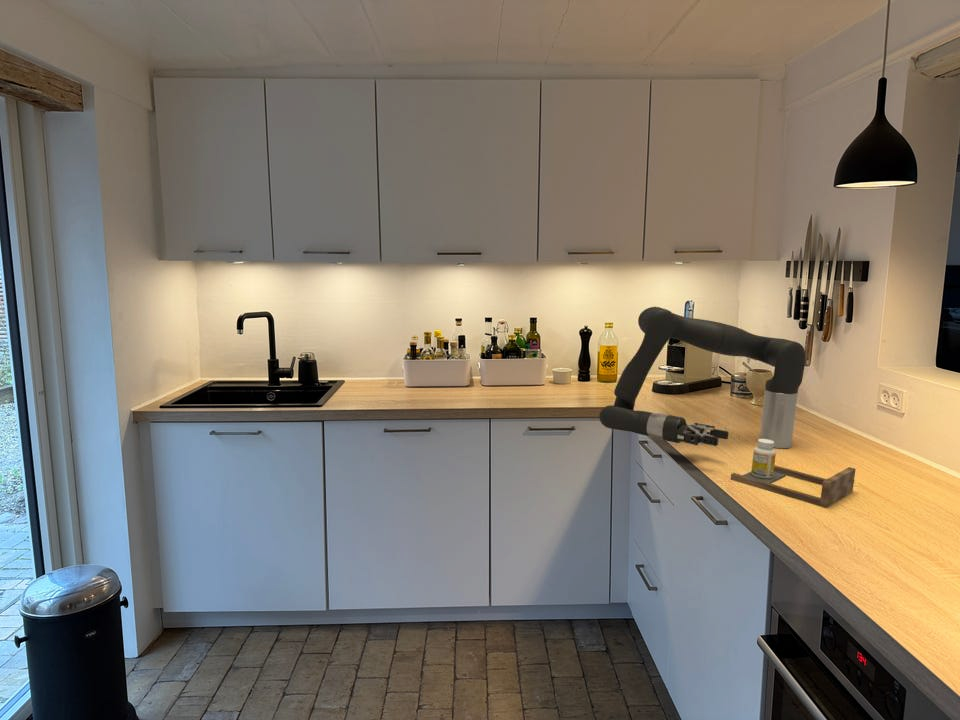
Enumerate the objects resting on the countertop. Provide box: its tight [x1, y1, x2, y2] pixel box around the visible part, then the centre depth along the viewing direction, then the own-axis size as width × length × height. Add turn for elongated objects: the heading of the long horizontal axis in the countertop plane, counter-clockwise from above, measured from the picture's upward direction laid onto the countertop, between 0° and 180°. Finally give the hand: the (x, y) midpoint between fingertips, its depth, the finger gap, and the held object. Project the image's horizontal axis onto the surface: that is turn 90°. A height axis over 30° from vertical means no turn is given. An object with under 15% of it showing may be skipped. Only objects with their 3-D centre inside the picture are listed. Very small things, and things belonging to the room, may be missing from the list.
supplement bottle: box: [750, 438, 777, 479], centre depth 164 cm, size 5×5×10 cm
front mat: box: [742, 471, 787, 484], centre depth 165 cm, size 12×7×1 cm, turn 131°
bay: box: [730, 464, 857, 508], centre depth 159 cm, size 17×24×6 cm
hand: (723, 438), depth 170 cm, fingers open, 8 cm apart
